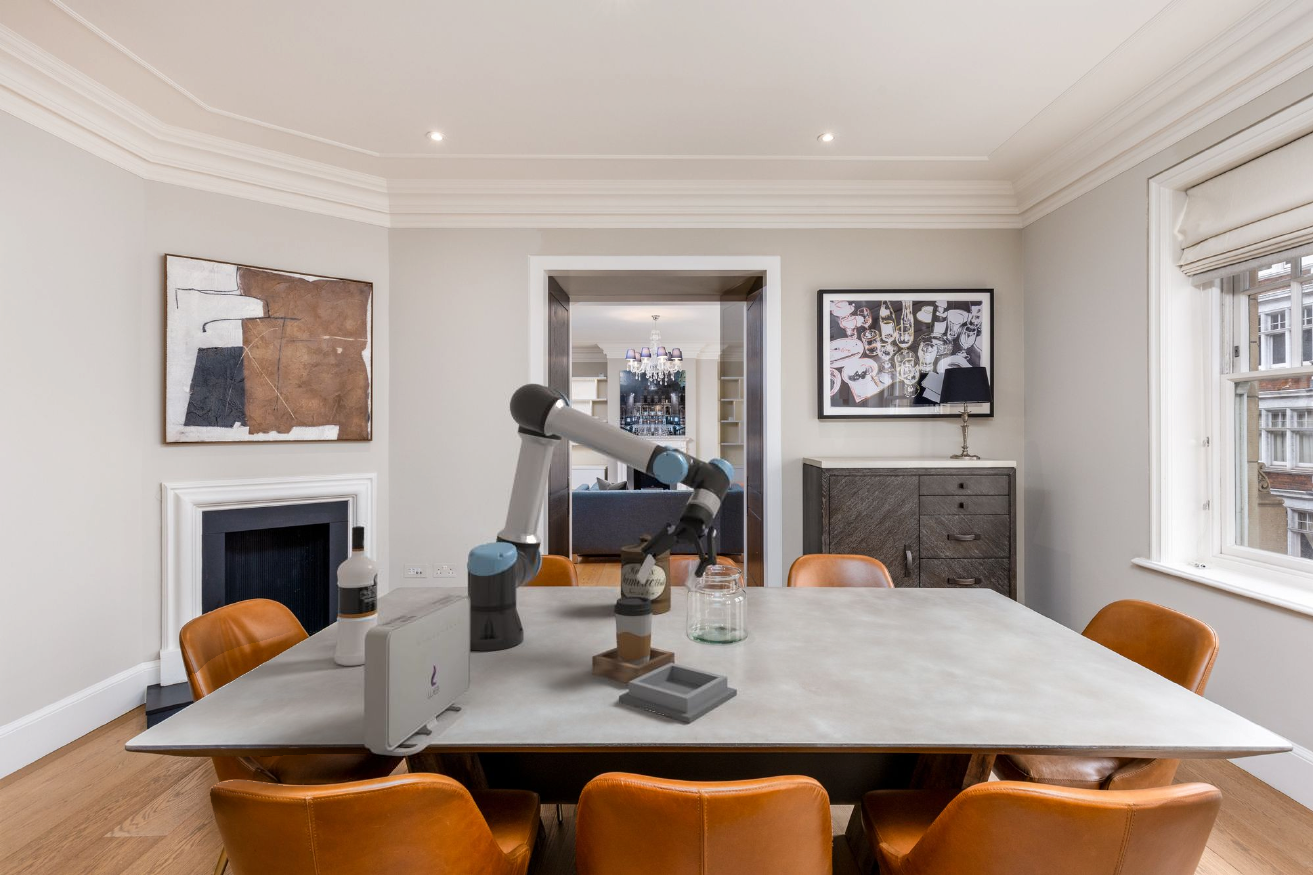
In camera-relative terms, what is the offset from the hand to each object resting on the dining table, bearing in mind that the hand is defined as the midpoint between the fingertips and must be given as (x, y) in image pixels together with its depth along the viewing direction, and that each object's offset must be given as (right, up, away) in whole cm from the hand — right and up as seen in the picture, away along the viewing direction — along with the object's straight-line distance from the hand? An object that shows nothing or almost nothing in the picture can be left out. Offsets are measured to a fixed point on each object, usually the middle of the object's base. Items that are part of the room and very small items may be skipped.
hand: (663, 584), depth 143 cm
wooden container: (-5, -18, +45) cm, 48 cm away
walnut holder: (-6, -16, -8) cm, 20 cm away
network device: (-41, -16, -36) cm, 57 cm away
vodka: (-69, -17, -1) cm, 71 cm away
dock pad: (+3, -16, -23) cm, 28 cm away
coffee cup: (-6, -17, -8) cm, 20 cm away
